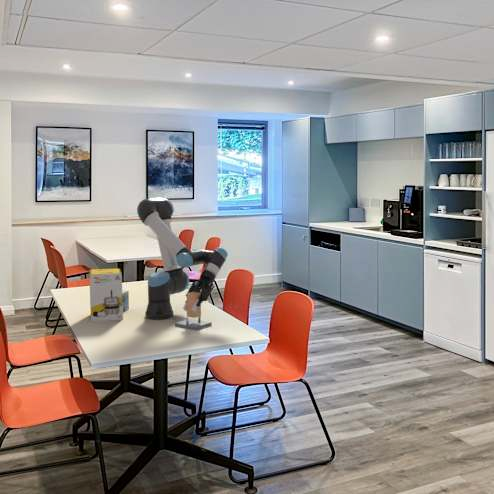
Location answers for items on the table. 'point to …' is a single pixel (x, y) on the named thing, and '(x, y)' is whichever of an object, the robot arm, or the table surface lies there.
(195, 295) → the case
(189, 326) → the pin tray
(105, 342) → the table surface
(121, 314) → the packaging box
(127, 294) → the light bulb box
